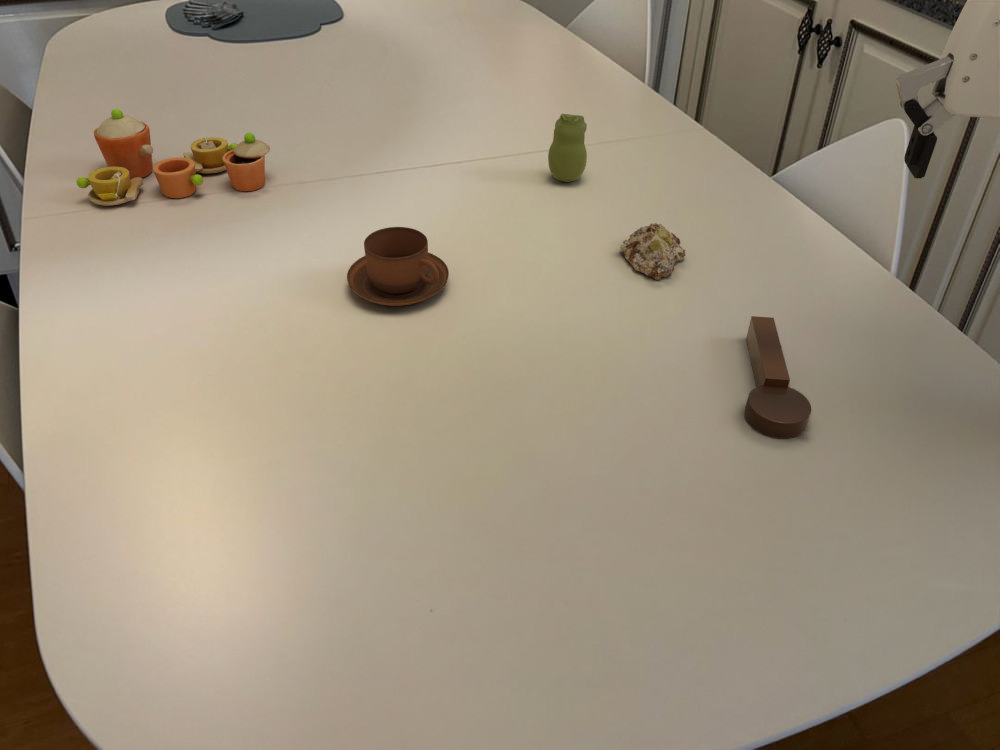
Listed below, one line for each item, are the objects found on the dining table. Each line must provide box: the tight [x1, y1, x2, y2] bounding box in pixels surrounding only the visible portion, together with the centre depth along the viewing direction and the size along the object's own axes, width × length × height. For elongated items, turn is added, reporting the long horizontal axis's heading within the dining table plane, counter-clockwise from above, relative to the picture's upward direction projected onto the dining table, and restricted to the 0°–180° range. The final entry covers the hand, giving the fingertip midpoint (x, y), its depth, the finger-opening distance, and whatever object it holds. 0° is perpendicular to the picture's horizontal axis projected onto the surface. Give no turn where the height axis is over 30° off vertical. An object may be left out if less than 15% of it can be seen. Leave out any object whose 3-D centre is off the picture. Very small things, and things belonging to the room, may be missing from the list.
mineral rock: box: [619, 222, 686, 281], centre depth 108 cm, size 11×4×8 cm
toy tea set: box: [76, 108, 271, 206], centre depth 121 cm, size 26×16×10 cm, turn 104°
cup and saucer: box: [346, 226, 450, 307], centre depth 100 cm, size 12×12×6 cm
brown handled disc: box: [743, 315, 812, 439], centre depth 88 cm, size 16×6×3 cm, turn 174°
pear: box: [547, 113, 588, 183], centre depth 123 cm, size 6×5×10 cm
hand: (969, 175), depth 77 cm, fingers open, 9 cm apart
